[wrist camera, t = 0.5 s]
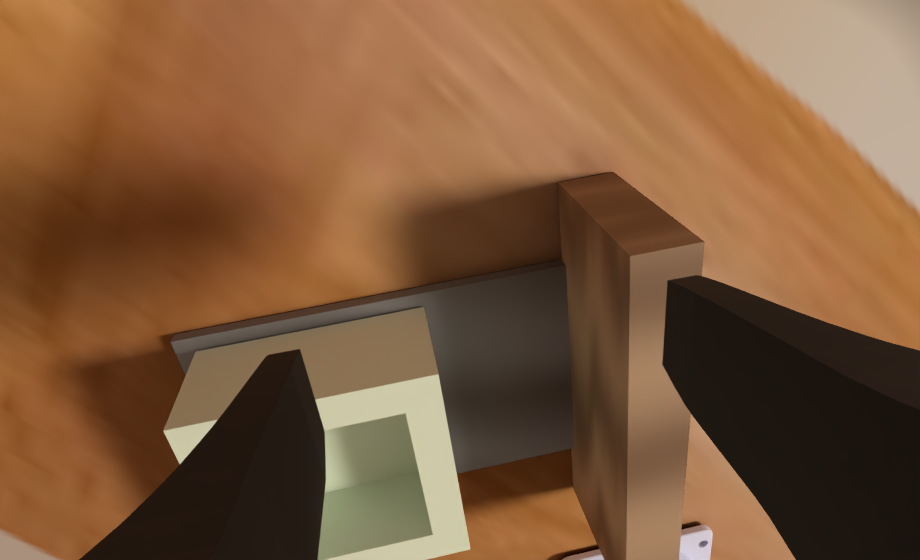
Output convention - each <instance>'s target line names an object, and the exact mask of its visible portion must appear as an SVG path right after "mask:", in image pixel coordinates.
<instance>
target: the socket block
mask: <svg viewBox="0 0 920 560" xmlns="http://www.w3.org/2000/svg"><path fill="white" fill-rule="evenodd" d="M296 349H300V350H301V354H302V357H303V361H304V364H305V367H306V371H307V374H308V377H309V381H310V384H311V387H312V391H313V394H314V397H315V401H316V404H317V407H318V411H319V414H320V418H321V421H322V424H323V428H324V431H325V456H326V484H325V494H324V504H323V514H322V523H321V532H320V542H319V551H318V560H426V559H431V558H435V557H439V556H444V555H448V554H452V553H457V552H461V551H465V550H470V544H469V538H468V533H467V527H466V522H465V516H464V511H463V505H462V500H461V494H460V489H459V483H458V478H457V472H456V467H455V462H454V456H453V451H452V445H451V440H450V434H449V429H448V423H447V418H446V412H445V407H444V401H443V396H442V390H441V385H440V380H439V374H438V369H437V365H436V360H435V356H434V351H433V346H432V342H431V337H430V333H429V328H428V323H427V319H426V314H425V310H424V307H421V308H416V309H410V310H405V311H400V312H395V313H390V314H385V315H380V316H375V317H370V318H364V319H359V320H354V321H349V322H344V323H339V324H334V325H329V326H324V327H318V328H313V329H308V330H303V331H298V332H293V333H288V334H283V335H278V336H273V337H267V338H262V339H257V340H252V341H247V342H242V343H237V344H232V345H227V346H221V347H216V348H211V349H206V350H201V351H196V352H195V354H194V357H193V359H192V361H191V364H190V366H189V369H188V371H187V374H186V376H185V379H184V381H183V383H182V386H181V388H180V391H179V393H178V396H177V398H176V401H175V403H174V406H173V408H172V410H171V413H170V415H169V418H168V420H167V423H166V425H165V428H164V430H163V431H164V434H165V436H166V438H167V440H168V442H169V444H170V446H171V448H172V450H173V452H174V454H175V456H176V458H177V460H178V462H179V464H181V463H182V461H183V460H184V459H185V458H186V457H187V456H188V455H189V453H190V452H191V451H192V450H193V449H194V448H195V446H196V445H197V444H198V443H199V442H200V441H201V439H202V438H203V437H204V436H205V435H206V434H207V433H208V431H209V430H210V429H211V428H212V426H213V425H214V424H215V423H216V421H217V420H218V419H219V418H220V416H221V415H222V414H223V412H224V411H225V410H226V409H227V407H228V406H229V405H230V403H231V402H232V401H233V399H234V398H235V397H236V395H237V394H238V393H239V391H240V390H241V389H242V387H243V386H244V385H245V383H246V382H247V381H248V379H249V378H250V377H251V375H252V374H253V373H254V371H255V370H256V369H257V367H258V366H259V365H260V363H261V362H262V361H263V360H264V358H265V357H266V356H267V355H269V354H275V353H280V352H286V351H291V350H296Z"/></svg>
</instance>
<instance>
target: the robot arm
mask: <svg viewBox="0 0 920 560" xmlns="http://www.w3.org/2000/svg"><path fill="white" fill-rule="evenodd" d="M662 365H663V367H664V369H665V370H666V372H667V374H668V376H669V378H670V380H671V382H672V383H673V385H674V387H675V389H676V391H677V392H678V394H679V396H680V397H681V399H682V401H683V402H684V404H685V406H686V407H687V409H688V410H689V411H690V413H691V414H692V415H693V417H694V418H695V419H696V421H697V422H698V423H699V425H700V426H701V427H702V429H703V430H704V431H705V433H706V434H707V435H708V436H709V438H710V439H711V440H712V442H713V443H714V444H715V446H716V447H717V448H718V449H719V451H720V452H721V453H722V455H723V456H724V457H725V458H726V460H727V461H728V462H729V464H730V465H731V466H732V468H733V469H734V470H735V471H736V473H737V474H738V475H739V477H740V478H741V479H742V480H743V482H744V483H745V484H746V486H747V487H748V488H749V490H750V491H751V492H752V493H753V495H754V496H755V497H756V499H757V500H758V502H759V503H760V504H761V506H762V507H763V509H764V510H765V512H766V513H767V514H768V516H769V517H770V519H771V520H772V522H773V524H774V525H775V527H776V528H777V530H778V532H779V533H780V535H781V536H782V538H783V540H784V541H785V543H786V544H787V546H788V548H789V549H790V551H791V553H792V554H793V556H794V557H795V559H796V560H920V351H919V350H915V349H911V348H907V347H904V346H900V345H896V344H892V343H889V342H885V341H882V340H879V339H875V338H872V337H869V336H866V335H863V334H860V333H857V332H854V331H851V330H848V329H845V328H842V327H839V326H836V325H833V324H830V323H827V322H824V321H821V320H818V319H816V318H813V317H810V316H807V315H805V314H802V313H799V312H796V311H794V310H791V309H789V308H786V307H783V306H781V305H778V304H776V303H773V302H770V301H768V300H765V299H763V298H760V297H758V296H755V295H752V294H750V293H747V292H745V291H742V290H740V289H737V288H734V287H732V286H729V285H726V284H724V283H721V282H718V281H715V280H712V279H709V278H706V277H702V276H699V275H694V276H689V277H684V278H678V279H673V280H668V281H667V297H666V313H665V329H664V345H663V361H662ZM325 484H326V456H325V431H324V428H323V424H322V421H321V418H320V414H319V411H318V407H317V404H316V401H315V397H314V394H313V391H312V387H311V384H310V381H309V377H308V374H307V371H306V367H305V364H304V361H303V357H302V354H301V350H300V349H296V350H291V351H286V352H280V353H275V354H269V355H267V356H266V357H265V358H264V360H263V361H262V362H261V363H260V365H259V366H258V367H257V369H256V370H255V371H254V373H253V374H252V375H251V377H250V378H249V379H248V381H247V382H246V383H245V385H244V386H243V387H242V389H241V390H240V391H239V393H238V394H237V395H236V397H235V398H234V399H233V401H232V402H231V403H230V405H229V406H228V407H227V409H226V410H225V411H224V412H223V414H222V415H221V416H220V418H219V419H218V420H217V421H216V423H215V424H214V425H213V426H212V428H211V429H210V430H209V431H208V433H207V434H206V435H205V436H204V437H203V438H202V439H201V441H200V442H199V443H198V444H197V445H196V446H195V448H194V449H193V450H192V451H191V452H190V453H189V455H188V456H187V457H186V458H185V459H184V460H183V461H182V463H181V464H180V465H179V466H178V467H177V468H176V470H175V471H174V472H173V473H172V474H171V475H170V476H169V477H168V478H167V479H166V480H165V481H164V482H163V483H162V484H161V485H160V486H159V487H158V488H157V489H156V490H155V492H154V493H152V494H151V495H150V496H149V497H148V498H147V499H146V500H145V501H144V502H143V503H142V504H141V505H140V506H139V507H138V508H137V509H136V510H135V511H134V512H133V513H132V514H131V515H130V516H129V517H128V518H127V519H126V520H124V521H123V522H122V523H121V524H120V525H119V526H118V527H117V528H116V529H114V530H113V531H112V532H111V533H110V534H109V535H107V536H106V537H105V538H104V539H103V540H102V541H100V542H99V543H98V544H97V545H96V546H95V547H93V548H92V549H91V550H90V551H89V552H88V553H86V554H85V555H84V556H83V557H82V558H81V559H79V560H318V551H319V542H320V532H321V523H322V514H323V504H324V494H325ZM712 536H713V533H712V531H711V529H710V528H709V527H708V526H707V525H699V526H695V527H690V528H686V529H682V530H681V541H680V553H679V560H710V553H711V545H712ZM562 560H604V558H603V556H602V554H601V551H600V549H597V550H593V551H589V552H585V553H580V554H576V555H572V556H568V557H565V558H563V559H562Z"/></svg>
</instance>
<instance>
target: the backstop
mask: <svg viewBox="0 0 920 560" xmlns="http://www.w3.org/2000/svg"><path fill="white" fill-rule="evenodd" d="M558 196H559V216H560V236H561V256H562V260H556V261H551V262H546V263H541V264H536V265H531V266H525V267H520V268H515V269H510V270H505V271H499V272H494V273H489V274H484V275H479V276H473V277H468V278H463V279H458V280H453V281H448V282H442V283H437V284H432V285H427V286H422V287H416V288H411V289H406V290H401V291H396V292H390V293H385V294H380V295H375V296H370V297H365V298H359V299H354V300H349V301H344V302H339V303H333V304H328V305H323V306H318V307H313V308H308V309H302V310H297V311H292V312H287V313H282V314H276V315H271V316H266V317H261V318H256V319H250V320H245V321H240V322H235V323H230V324H225V325H219V326H214V327H209V328H204V329H199V330H193V331H188V332H183V333H178V334H174V336H173V338H172V340H171V342H170V343H171V345H172V347H173V349H174V352H175V354H176V356H177V358H178V361H179V363H180V365H181V367H182V370H183V372H184V374H185V376H186V374H187V371H188V369H189V366H190V364H191V361H192V359H193V357H194V354H195V352H196V351H201V350H206V349H211V348H216V347H221V346H227V345H232V344H237V343H242V342H247V341H252V340H257V339H262V338H267V337H273V336H278V335H283V334H288V333H293V332H298V331H303V330H308V329H313V328H318V327H324V326H329V325H334V324H339V323H344V322H349V321H354V320H359V319H364V318H370V317H375V316H380V315H385V314H390V313H395V312H400V311H405V310H410V309H416V308H421V307H424V310H425V314H426V319H427V323H428V328H429V333H430V337H431V342H432V346H433V351H434V356H435V360H436V365H437V369H438V374H439V380H440V385H441V390H442V396H443V401H444V407H445V412H446V418H447V423H448V429H449V434H450V440H451V445H452V451H453V456H454V462H455V467H456V472H457V474H459V473H463V472H468V471H472V470H477V469H481V468H486V467H490V466H495V465H499V464H504V463H509V462H513V461H518V460H522V459H527V458H531V457H536V456H540V455H545V454H549V453H554V452H558V451H563V450H567V449H571V456H572V476H573V488H574V491H575V493H576V495H577V498H578V500H579V502H580V505H581V507H582V509H583V512H584V514H585V516H586V519H587V521H588V523H589V526H590V528H591V530H592V533H593V535H594V537H595V540H596V542H597V544H598V547H599V549H600V551H601V554H602V556H603V558H604V560H679V553H680V541H681V528H682V516H683V503H684V491H685V478H686V466H687V453H688V441H689V428H690V416H691V413H690V411H689V410H688V409H687V407H686V406H685V404H684V402H683V401H682V399H681V397H680V396H679V394H678V392H677V391H676V389H675V387H674V385H673V383H672V382H671V380H670V378H669V376H668V374H667V372H666V370H665V369H664V367H663V365H662V361H663V345H664V329H665V313H666V297H667V281H668V280H673V279H678V278H684V277H689V276H694V275H699V276H702V266H703V253H704V241H703V240H701V239H700V238H699V237H698V236H696V235H695V234H694V233H692V232H691V231H690V230H688V229H687V228H686V227H685V226H683V225H682V224H681V223H679V222H678V221H677V220H675V219H674V218H673V217H671V216H670V215H669V214H668V213H666V212H665V211H664V210H662V209H661V208H660V207H658V206H657V205H656V204H654V203H653V202H652V201H651V200H649V199H648V198H647V197H645V196H644V195H643V194H641V193H640V192H639V191H638V190H636V189H635V188H634V187H632V186H631V185H630V184H628V183H627V182H626V181H624V180H623V179H622V178H621V177H619V176H618V175H617V174H615V173H614V172H611V173H606V174H600V175H595V176H589V177H584V178H578V179H573V180H567V181H562V182H558Z"/></svg>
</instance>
